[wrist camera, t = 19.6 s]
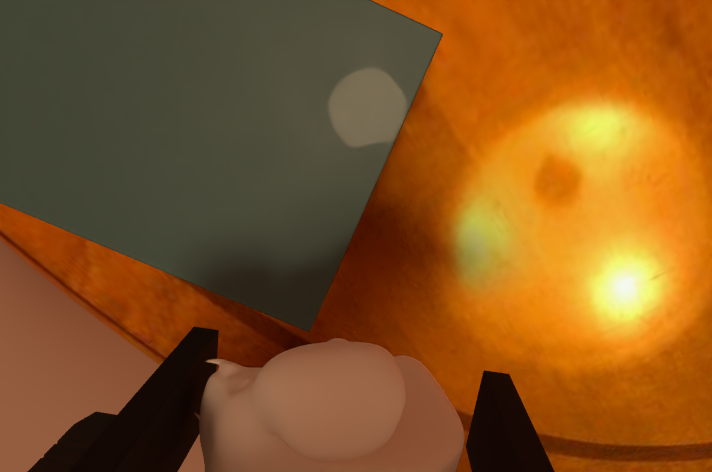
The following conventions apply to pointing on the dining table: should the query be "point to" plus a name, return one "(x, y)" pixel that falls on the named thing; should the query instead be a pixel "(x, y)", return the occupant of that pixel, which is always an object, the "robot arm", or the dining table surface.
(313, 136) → the cabinet
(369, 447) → the elephant figurine
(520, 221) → the dining table surface
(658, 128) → the dining table surface
